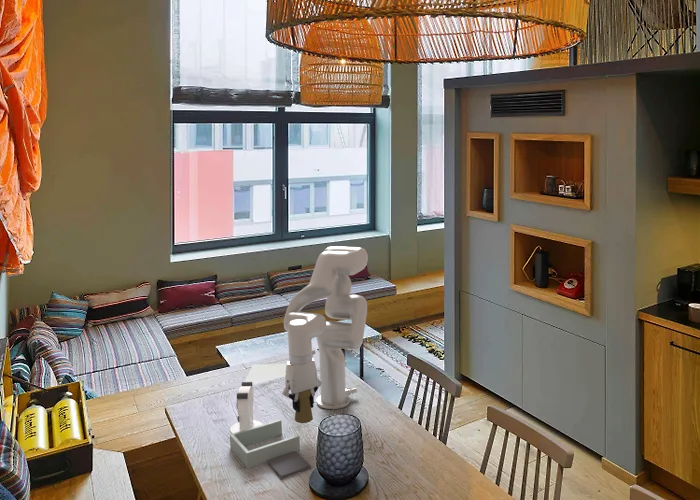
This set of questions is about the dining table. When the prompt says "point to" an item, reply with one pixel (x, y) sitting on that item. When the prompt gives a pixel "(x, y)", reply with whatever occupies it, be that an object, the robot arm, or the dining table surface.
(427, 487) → the dining table surface
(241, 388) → the white upright piece
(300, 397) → the cork
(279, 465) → the charcoal mat
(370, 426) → the dining table surface
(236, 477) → the dining table surface
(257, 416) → the dining table surface
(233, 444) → the box
